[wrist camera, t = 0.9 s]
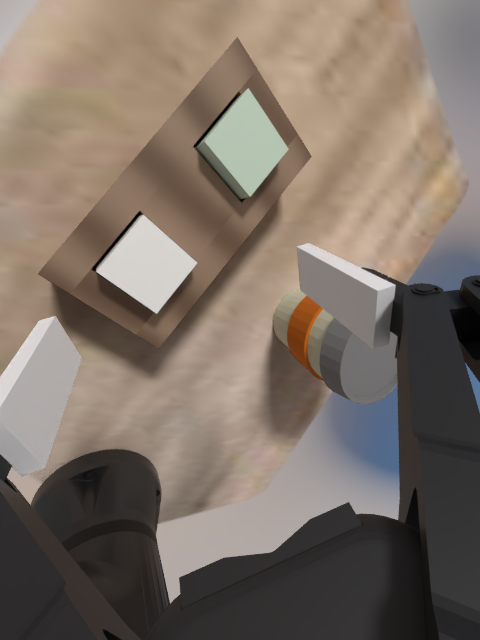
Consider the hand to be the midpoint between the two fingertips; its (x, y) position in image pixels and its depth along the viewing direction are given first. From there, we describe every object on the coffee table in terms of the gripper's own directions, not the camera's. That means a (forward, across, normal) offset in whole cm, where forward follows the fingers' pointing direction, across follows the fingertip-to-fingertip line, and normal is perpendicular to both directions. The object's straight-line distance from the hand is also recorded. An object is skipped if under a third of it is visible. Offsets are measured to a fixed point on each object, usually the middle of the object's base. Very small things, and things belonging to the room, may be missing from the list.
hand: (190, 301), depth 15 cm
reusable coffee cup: (+20, -15, +17) cm, 30 cm away
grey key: (+15, +3, +1) cm, 16 cm away
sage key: (+19, -8, -6) cm, 21 cm away
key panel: (+20, -2, -2) cm, 20 cm away
